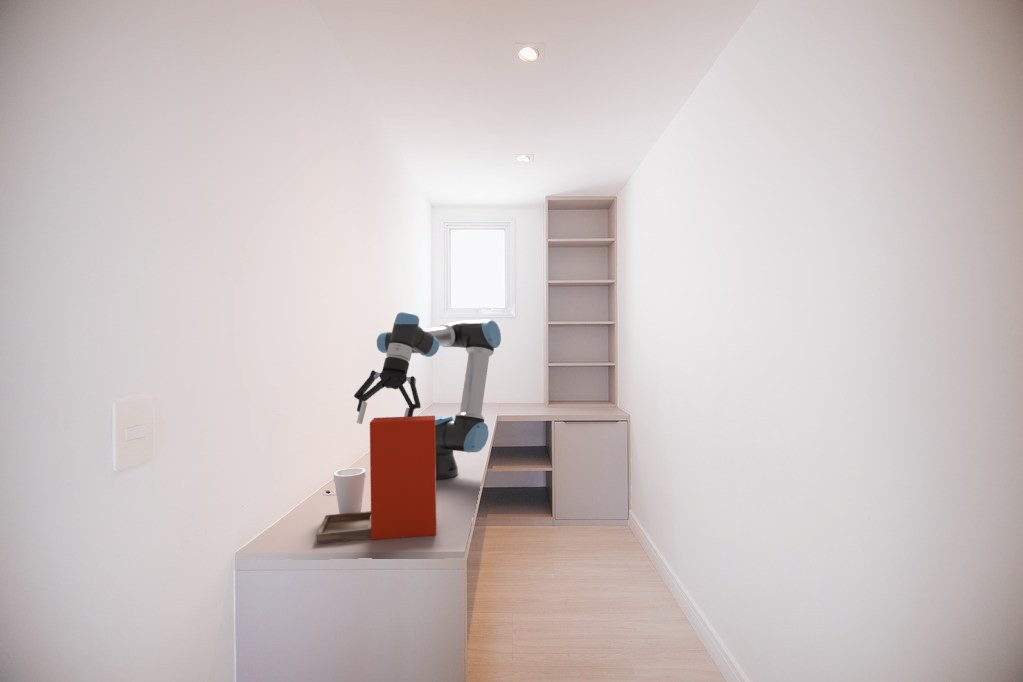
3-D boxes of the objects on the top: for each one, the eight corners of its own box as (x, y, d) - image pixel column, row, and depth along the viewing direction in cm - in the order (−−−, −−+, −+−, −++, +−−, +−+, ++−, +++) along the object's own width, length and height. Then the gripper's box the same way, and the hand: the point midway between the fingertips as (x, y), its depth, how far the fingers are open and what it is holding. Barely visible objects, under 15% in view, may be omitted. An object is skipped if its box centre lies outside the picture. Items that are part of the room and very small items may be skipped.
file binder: (435, 535, 123) (434, 419, 123) (371, 540, 121) (369, 422, 121) (436, 524, 131) (435, 415, 131) (375, 528, 129) (374, 417, 129)
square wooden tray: (326, 523, 133) (325, 515, 133) (375, 518, 136) (375, 510, 136) (316, 544, 119) (316, 534, 119) (371, 538, 122) (371, 529, 122)
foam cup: (358, 505, 148) (357, 466, 148) (371, 512, 141) (370, 471, 141) (329, 513, 141) (328, 472, 141) (341, 521, 134) (341, 478, 134)
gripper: (355, 350, 138) (336, 418, 131) (434, 361, 137) (419, 431, 130) (362, 357, 145) (345, 422, 138) (438, 368, 144) (424, 434, 137)
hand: (381, 426), depth 134 cm, fingers open, 13 cm apart
